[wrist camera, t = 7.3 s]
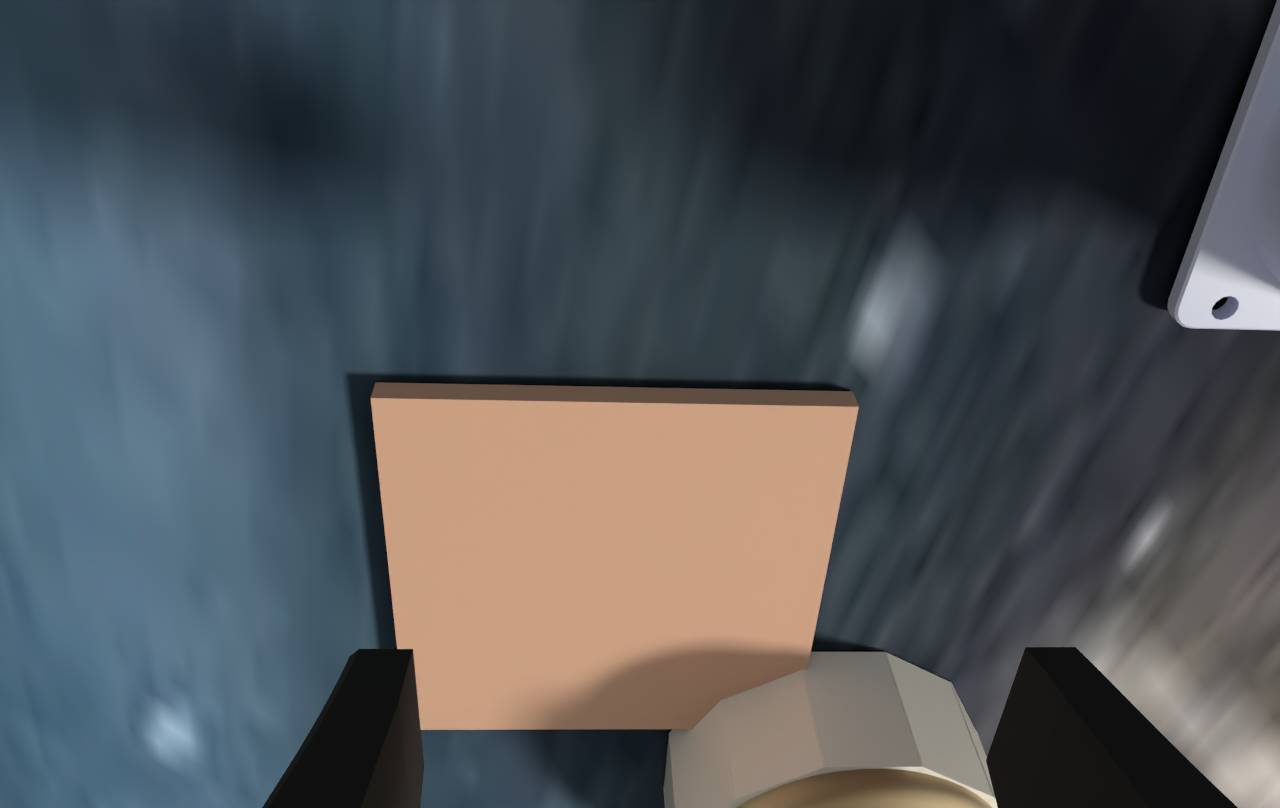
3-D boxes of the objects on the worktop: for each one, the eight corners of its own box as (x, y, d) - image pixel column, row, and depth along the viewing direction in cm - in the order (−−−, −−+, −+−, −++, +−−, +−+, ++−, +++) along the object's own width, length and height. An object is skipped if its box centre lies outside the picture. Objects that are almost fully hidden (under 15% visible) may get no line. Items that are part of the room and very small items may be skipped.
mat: (852, 391, 22) (858, 406, 22) (792, 710, 28) (795, 728, 27) (375, 382, 22) (370, 398, 21) (409, 711, 27) (405, 729, 27)
